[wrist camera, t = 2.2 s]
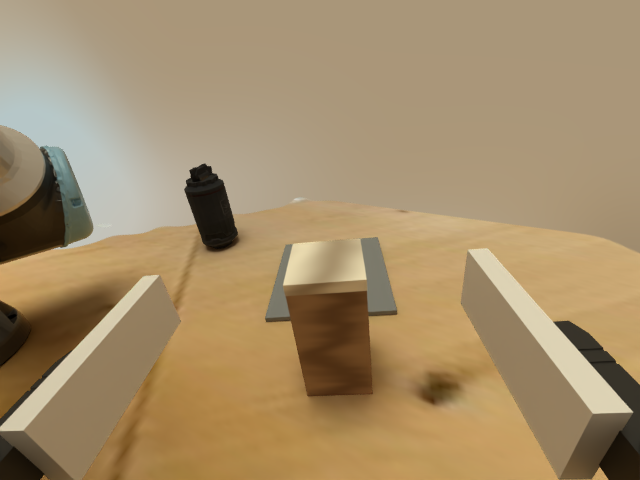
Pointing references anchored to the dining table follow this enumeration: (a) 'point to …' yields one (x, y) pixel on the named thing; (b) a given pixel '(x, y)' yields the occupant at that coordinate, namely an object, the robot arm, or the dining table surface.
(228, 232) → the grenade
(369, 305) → the mat
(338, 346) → the block
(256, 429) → the dining table surface
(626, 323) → the dining table surface
